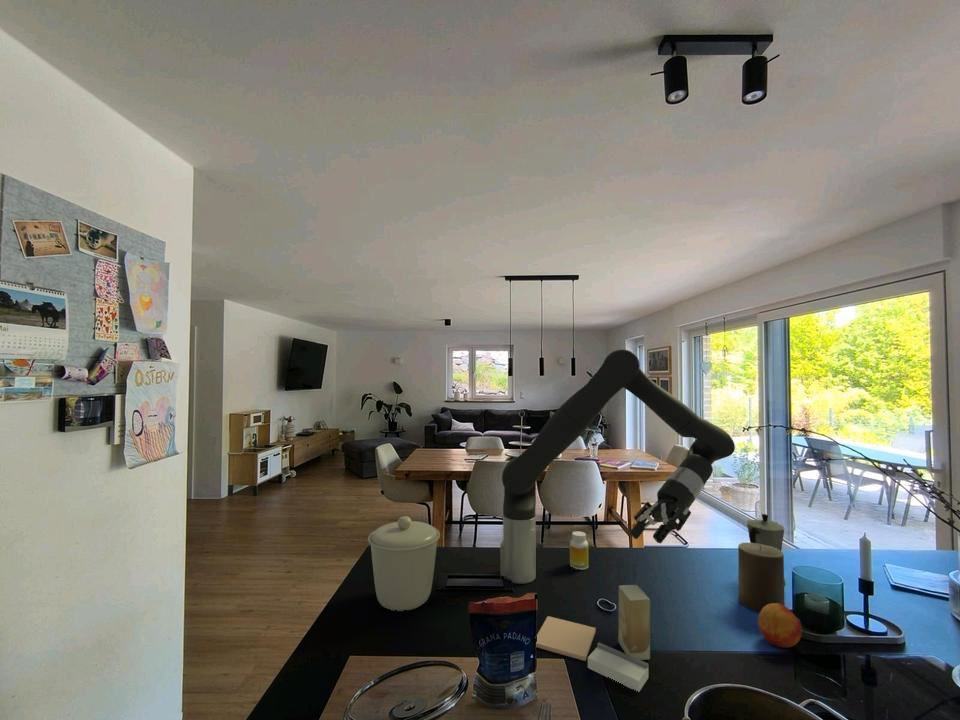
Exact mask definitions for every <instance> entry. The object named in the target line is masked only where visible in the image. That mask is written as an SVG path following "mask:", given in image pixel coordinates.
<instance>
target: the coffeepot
mask: <svg viewBox="0 0 960 720" xmlns="http://www.w3.org/2000/svg"><path fill="white" fill-rule="evenodd" d="M761 518H762V519H748V520H746V525H747V531H748V538H749V543H758V544H763V545H767V546H771V547H774V548H777V549H778V550H780V551H781V552H782V548H783V543H784V542H783V541H784V535H785V526H784V525H782V524H779V522H778V521H773V520H771V519H770V520H768V519H769V515H768V514H767V513H762V514H761ZM784 585H786V579H785V578H784Z"/></svg>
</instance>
